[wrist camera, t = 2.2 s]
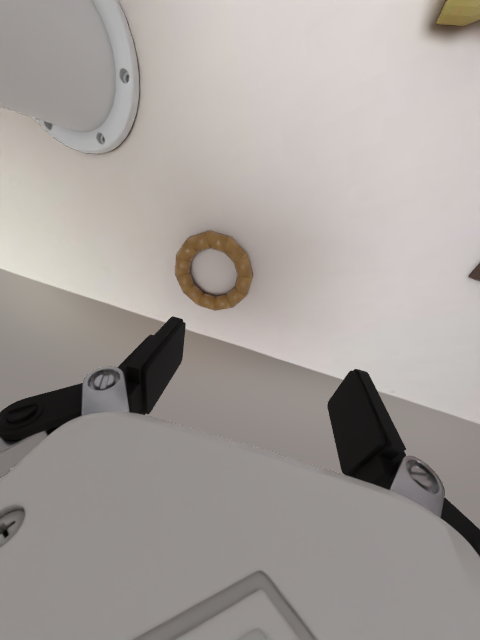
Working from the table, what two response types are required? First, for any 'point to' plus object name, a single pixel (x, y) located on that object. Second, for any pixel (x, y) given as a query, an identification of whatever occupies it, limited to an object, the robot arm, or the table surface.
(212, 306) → the ring
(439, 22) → the hammer
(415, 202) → the table surface
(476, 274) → the peg
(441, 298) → the table surface
